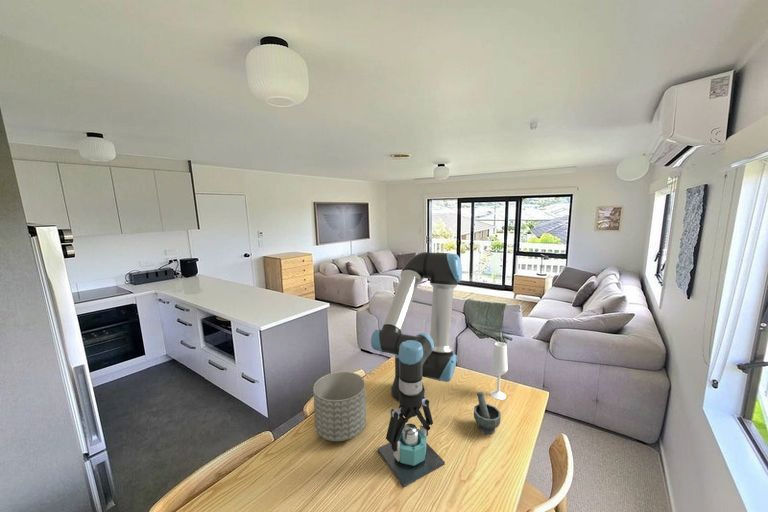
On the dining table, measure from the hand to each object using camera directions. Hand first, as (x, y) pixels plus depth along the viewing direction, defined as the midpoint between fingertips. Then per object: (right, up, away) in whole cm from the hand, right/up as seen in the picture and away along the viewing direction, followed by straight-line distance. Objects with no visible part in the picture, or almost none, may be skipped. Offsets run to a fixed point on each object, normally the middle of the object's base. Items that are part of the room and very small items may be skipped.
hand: (410, 451), depth 98 cm
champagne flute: (+43, +2, +34) cm, 55 cm away
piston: (0, -2, 0) cm, 2 cm away
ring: (0, 0, 0) cm, 0 cm away
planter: (-25, -1, +13) cm, 28 cm away
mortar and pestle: (+30, 0, +14) cm, 33 cm away
